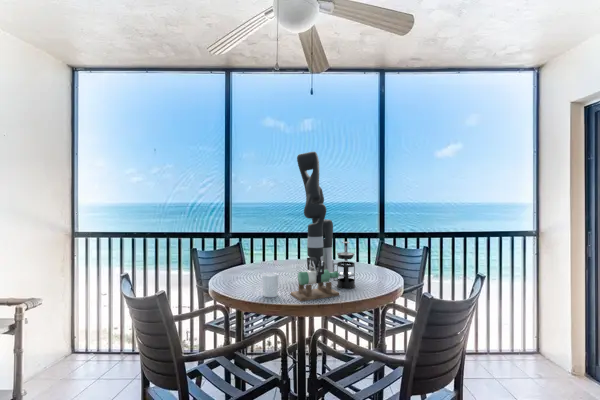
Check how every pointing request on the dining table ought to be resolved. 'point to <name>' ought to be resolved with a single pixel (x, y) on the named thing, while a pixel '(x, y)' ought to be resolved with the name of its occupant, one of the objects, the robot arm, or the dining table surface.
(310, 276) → the green bottle
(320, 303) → the dining table surface
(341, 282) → the french press
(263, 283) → the white cup
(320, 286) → the bottle rest
